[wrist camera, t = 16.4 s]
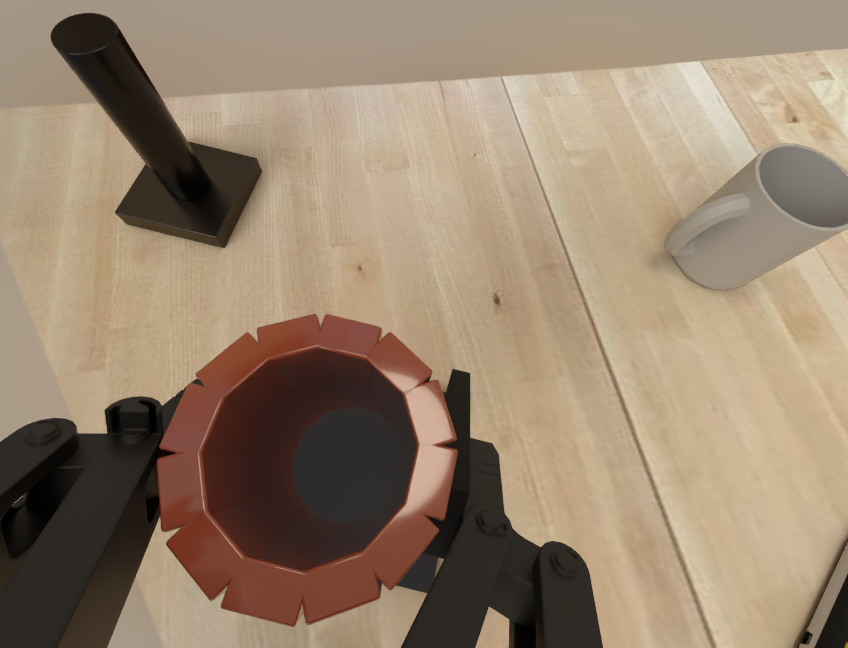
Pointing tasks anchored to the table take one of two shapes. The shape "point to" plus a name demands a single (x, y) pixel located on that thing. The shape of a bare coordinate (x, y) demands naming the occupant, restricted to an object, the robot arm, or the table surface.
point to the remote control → (831, 612)
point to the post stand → (156, 140)
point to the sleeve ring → (273, 474)
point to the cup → (762, 217)
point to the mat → (354, 474)
